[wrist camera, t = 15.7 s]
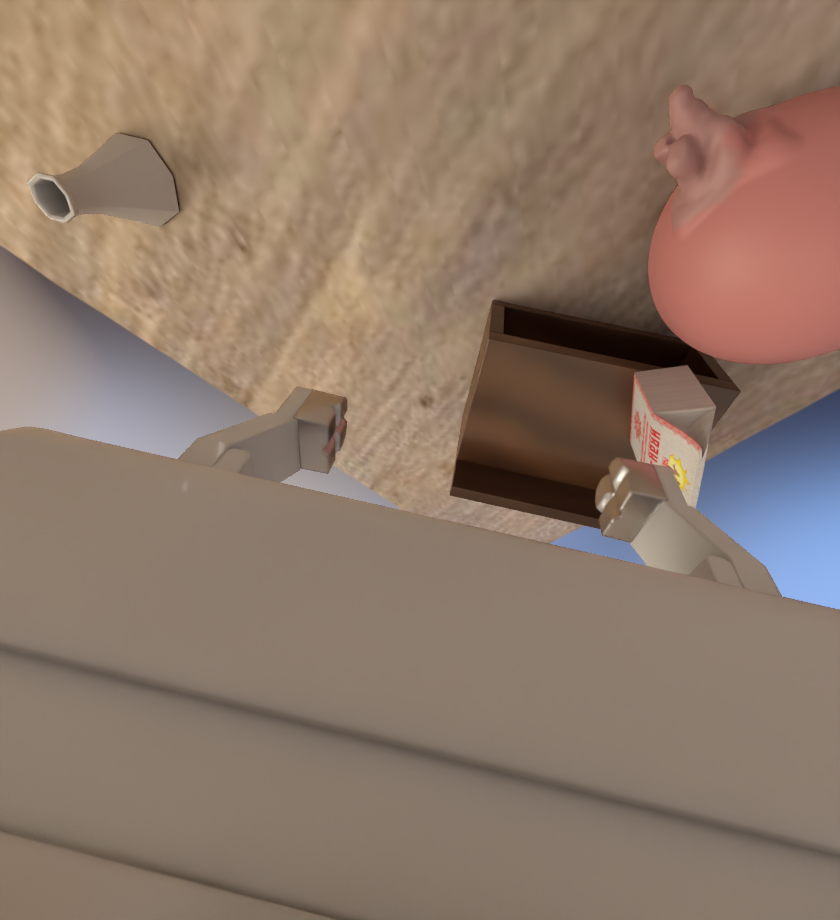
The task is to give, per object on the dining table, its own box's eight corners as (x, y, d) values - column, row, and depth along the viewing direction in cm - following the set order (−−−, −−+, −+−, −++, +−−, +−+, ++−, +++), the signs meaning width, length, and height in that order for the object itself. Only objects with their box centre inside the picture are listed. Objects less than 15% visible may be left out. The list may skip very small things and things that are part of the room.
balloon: (764, -47, 25) (988, -188, 13) (898, 210, 31) (1131, 269, 19) (553, 185, 34) (575, 223, 22) (690, 349, 40) (765, 447, 28)
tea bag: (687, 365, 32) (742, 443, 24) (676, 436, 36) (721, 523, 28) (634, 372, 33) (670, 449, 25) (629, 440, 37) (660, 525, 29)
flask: (193, 220, 40) (119, 245, 33) (131, 230, 42) (46, 257, 34) (153, 124, 36) (55, 128, 28) (85, 140, 37) (-24, 147, 30)
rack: (492, 299, 40) (486, 360, 30) (701, 342, 39) (765, 420, 30) (462, 418, 49) (449, 495, 39) (631, 455, 48) (662, 543, 39)
